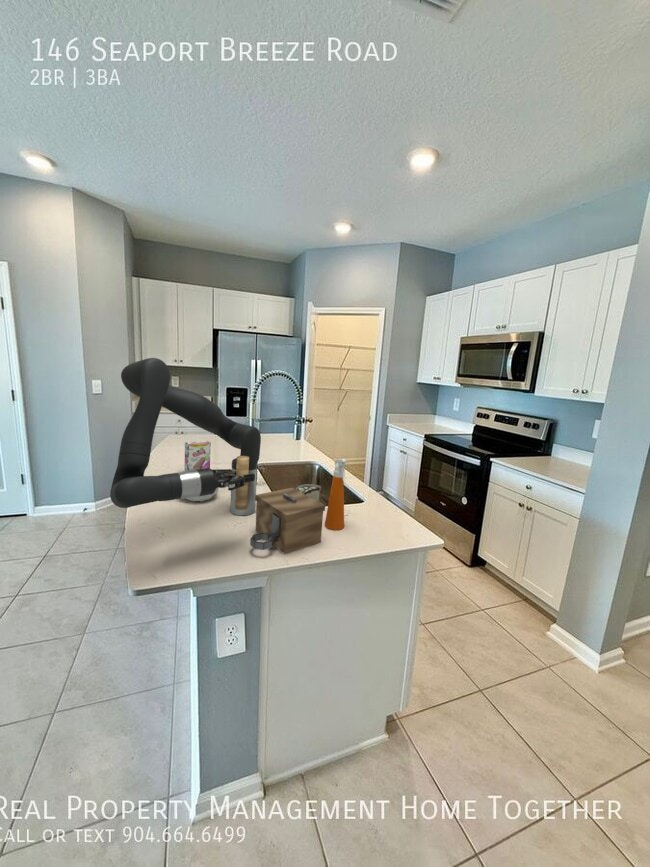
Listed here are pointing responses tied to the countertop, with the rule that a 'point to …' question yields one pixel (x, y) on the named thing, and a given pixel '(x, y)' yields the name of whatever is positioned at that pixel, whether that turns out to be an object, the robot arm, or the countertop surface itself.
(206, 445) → the candy bar box
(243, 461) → the tan wooden cylinder
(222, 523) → the countertop surface
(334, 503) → the spray bottle
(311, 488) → the food container
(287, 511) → the toolbox
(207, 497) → the paper bowls
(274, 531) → the hasp
